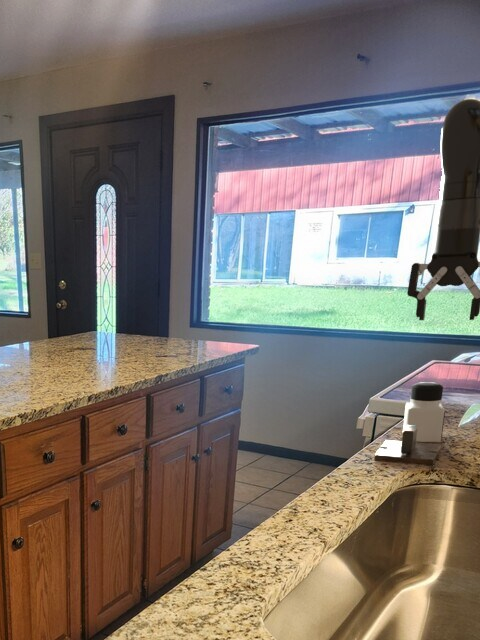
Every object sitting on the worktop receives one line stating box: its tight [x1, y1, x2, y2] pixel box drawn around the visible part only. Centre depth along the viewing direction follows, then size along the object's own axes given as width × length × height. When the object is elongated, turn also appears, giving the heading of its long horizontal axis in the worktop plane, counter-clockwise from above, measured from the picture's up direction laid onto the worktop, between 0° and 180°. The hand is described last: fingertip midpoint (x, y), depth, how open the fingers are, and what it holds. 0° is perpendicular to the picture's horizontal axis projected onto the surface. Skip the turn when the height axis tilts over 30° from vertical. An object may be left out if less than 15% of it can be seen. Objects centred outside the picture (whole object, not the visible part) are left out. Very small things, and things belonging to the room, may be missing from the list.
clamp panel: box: [373, 439, 441, 467], centre depth 131 cm, size 10×12×3 cm
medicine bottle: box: [402, 381, 446, 443], centre depth 147 cm, size 7×7×12 cm
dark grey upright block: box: [401, 425, 418, 453], centre depth 130 cm, size 6×2×4 cm, turn 149°
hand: (446, 319), depth 129 cm, fingers open, 8 cm apart
